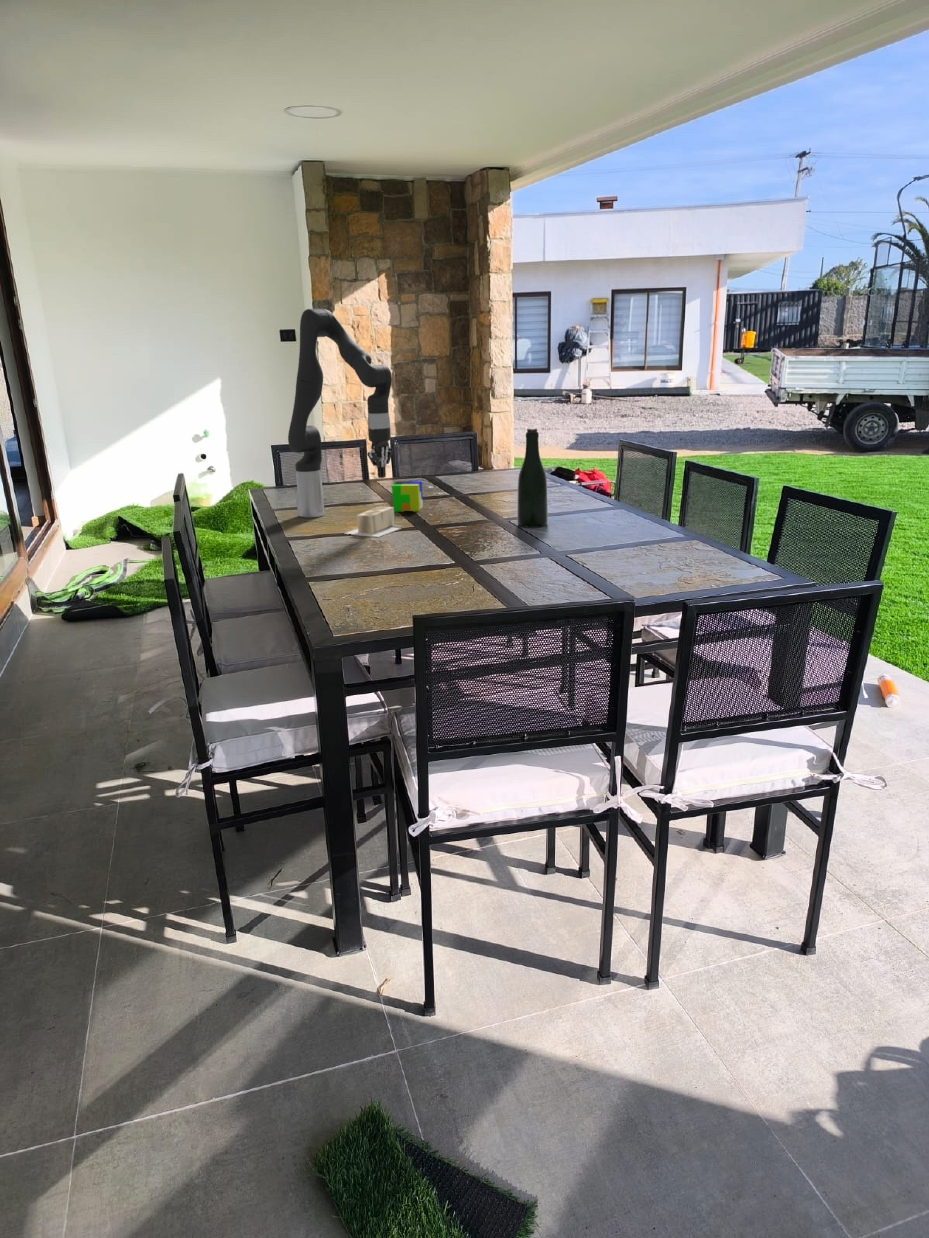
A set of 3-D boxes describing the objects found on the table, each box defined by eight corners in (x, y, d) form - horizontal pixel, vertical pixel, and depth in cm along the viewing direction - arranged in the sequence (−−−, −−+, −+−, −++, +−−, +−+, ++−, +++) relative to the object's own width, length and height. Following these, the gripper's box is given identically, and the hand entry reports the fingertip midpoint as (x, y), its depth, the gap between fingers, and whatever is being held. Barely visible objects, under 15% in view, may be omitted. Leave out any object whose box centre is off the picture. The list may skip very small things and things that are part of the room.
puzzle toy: (422, 506, 330) (421, 481, 326) (419, 511, 320) (417, 485, 317) (397, 506, 331) (396, 481, 327) (393, 511, 321) (391, 485, 318)
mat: (344, 534, 286) (344, 531, 286) (369, 525, 299) (369, 523, 299) (378, 537, 280) (378, 535, 280) (402, 528, 292) (402, 526, 292)
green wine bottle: (513, 527, 289) (512, 429, 278) (522, 521, 298) (522, 426, 287) (542, 528, 285) (542, 430, 274) (551, 522, 294) (551, 426, 283)
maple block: (381, 522, 298) (358, 532, 287) (380, 505, 296) (356, 515, 285) (395, 523, 295) (372, 533, 284) (394, 507, 293) (370, 516, 282)
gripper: (380, 424, 291) (383, 474, 297) (358, 428, 280) (361, 480, 286) (399, 424, 288) (401, 475, 293) (377, 429, 277) (380, 481, 282)
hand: (381, 477), depth 289 cm, fingers closed
